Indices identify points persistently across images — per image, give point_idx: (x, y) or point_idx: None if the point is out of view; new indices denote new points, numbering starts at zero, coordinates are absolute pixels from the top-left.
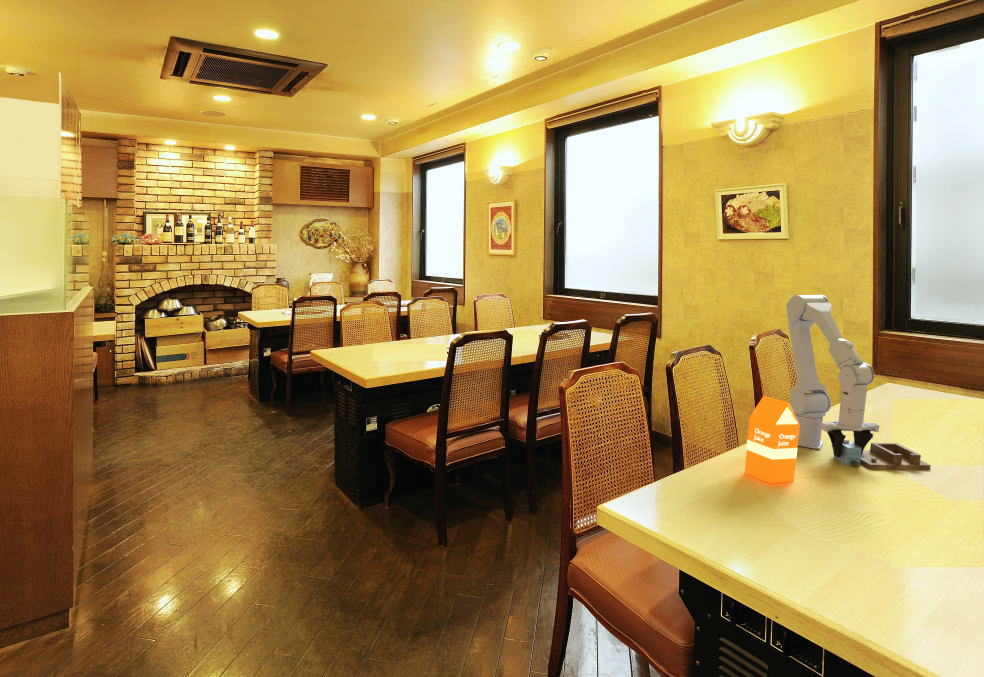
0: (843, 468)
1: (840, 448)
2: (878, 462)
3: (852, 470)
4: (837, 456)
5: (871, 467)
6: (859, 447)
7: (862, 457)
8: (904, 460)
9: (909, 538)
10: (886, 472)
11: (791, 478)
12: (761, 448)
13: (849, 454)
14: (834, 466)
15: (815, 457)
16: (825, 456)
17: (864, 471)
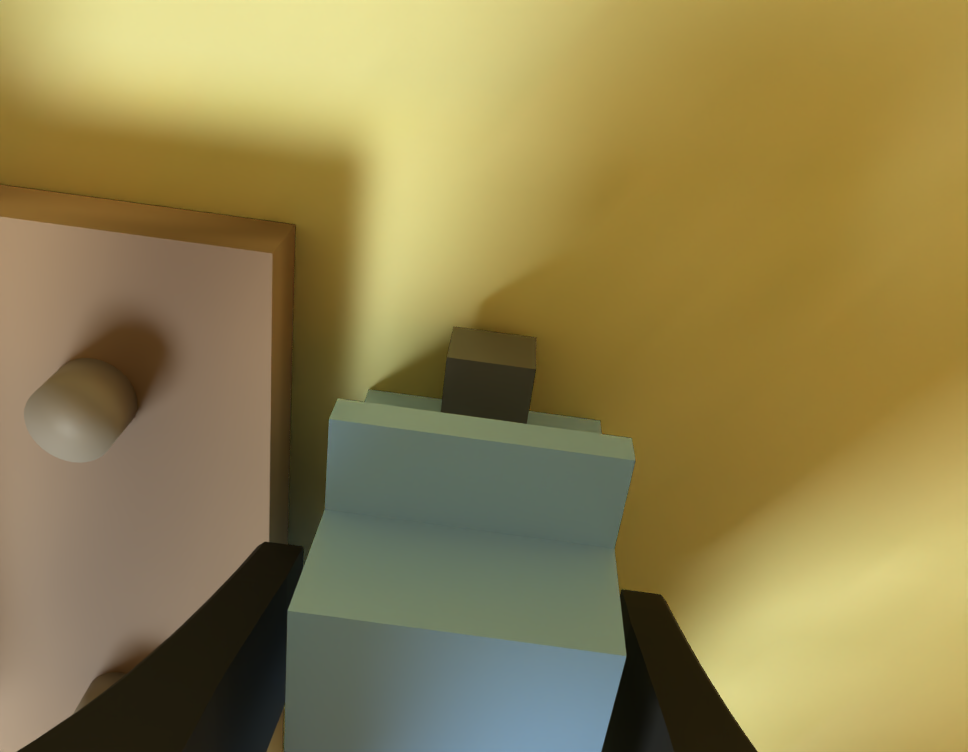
0: (770, 307)
1: (695, 713)
2: (39, 334)
3: (682, 200)
4: (667, 613)
5: (260, 230)
6: (318, 641)
7: (363, 407)
8: None
9: None
10: (77, 25)
11: None
12: None
13: (583, 532)
14: (850, 406)
15: (815, 729)
16: None
17: (486, 125)
